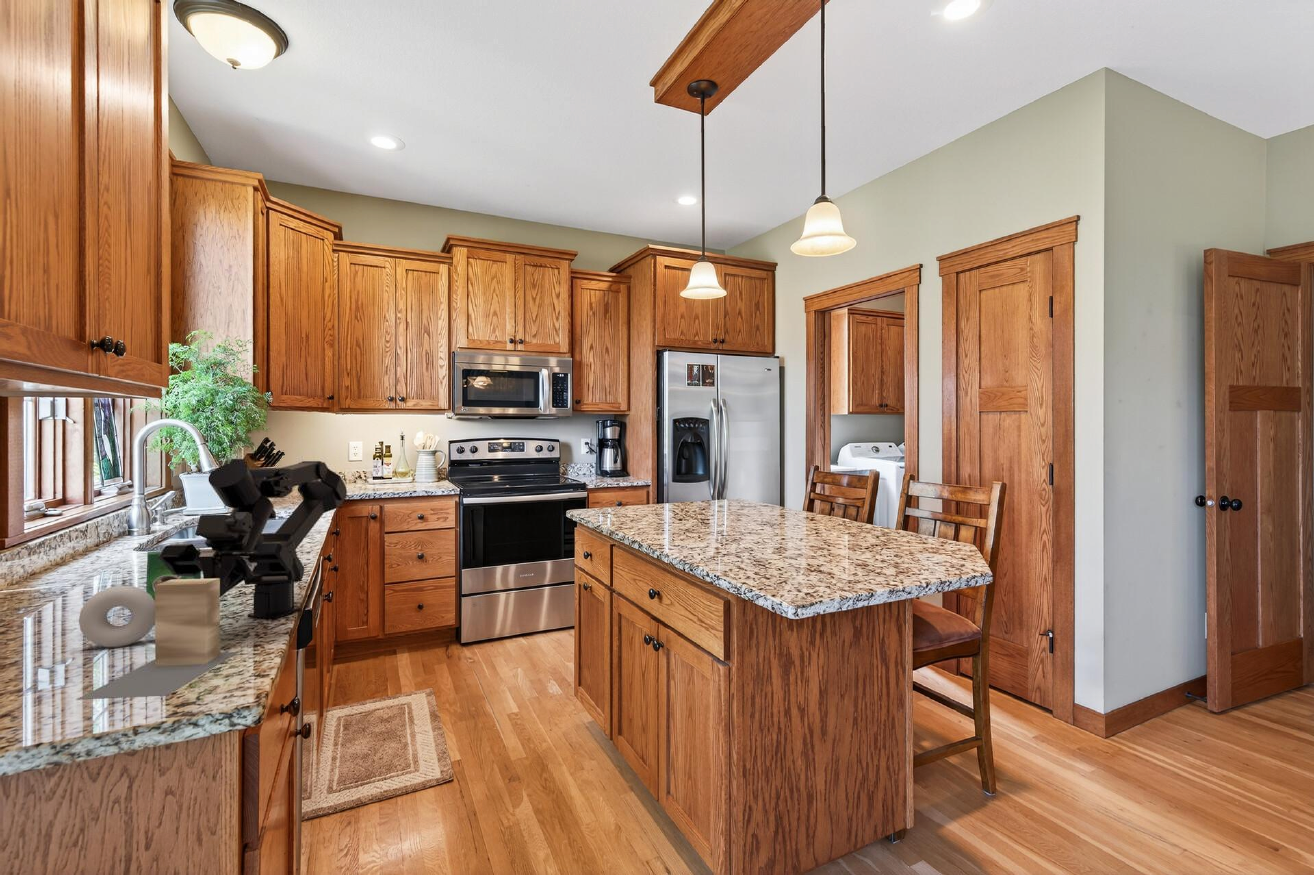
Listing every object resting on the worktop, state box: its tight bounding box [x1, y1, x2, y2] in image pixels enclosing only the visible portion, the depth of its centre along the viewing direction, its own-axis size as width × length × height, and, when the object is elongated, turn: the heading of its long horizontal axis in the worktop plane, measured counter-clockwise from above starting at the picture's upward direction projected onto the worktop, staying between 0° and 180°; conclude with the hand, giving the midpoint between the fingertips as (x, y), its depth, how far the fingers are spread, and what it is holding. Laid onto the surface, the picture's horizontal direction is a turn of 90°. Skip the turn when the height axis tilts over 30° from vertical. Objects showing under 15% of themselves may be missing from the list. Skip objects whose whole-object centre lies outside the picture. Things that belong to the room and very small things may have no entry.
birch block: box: [154, 578, 221, 666], centre depth 92 cm, size 4×7×12 cm, turn 96°
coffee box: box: [145, 547, 202, 601], centre depth 114 cm, size 8×3×13 cm, turn 133°
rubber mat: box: [76, 651, 239, 701], centre depth 87 cm, size 16×11×1 cm
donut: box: [78, 584, 155, 648], centre depth 99 cm, size 10×3×10 cm, turn 114°
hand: (206, 603), depth 96 cm, fingers closed
